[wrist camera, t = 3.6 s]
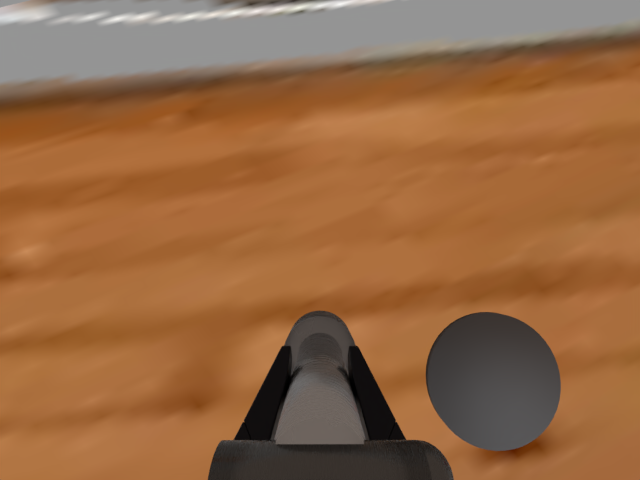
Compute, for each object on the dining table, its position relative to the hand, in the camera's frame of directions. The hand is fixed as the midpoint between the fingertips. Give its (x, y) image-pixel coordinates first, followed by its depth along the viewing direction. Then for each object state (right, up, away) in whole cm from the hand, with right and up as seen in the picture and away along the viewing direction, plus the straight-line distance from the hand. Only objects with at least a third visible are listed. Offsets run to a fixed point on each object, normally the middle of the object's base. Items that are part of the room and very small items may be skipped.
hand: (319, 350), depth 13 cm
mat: (+12, -5, +7) cm, 15 cm away
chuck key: (0, -2, +7) cm, 7 cm away
